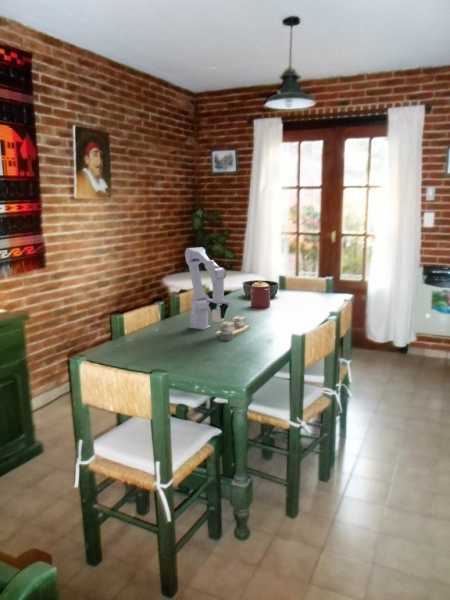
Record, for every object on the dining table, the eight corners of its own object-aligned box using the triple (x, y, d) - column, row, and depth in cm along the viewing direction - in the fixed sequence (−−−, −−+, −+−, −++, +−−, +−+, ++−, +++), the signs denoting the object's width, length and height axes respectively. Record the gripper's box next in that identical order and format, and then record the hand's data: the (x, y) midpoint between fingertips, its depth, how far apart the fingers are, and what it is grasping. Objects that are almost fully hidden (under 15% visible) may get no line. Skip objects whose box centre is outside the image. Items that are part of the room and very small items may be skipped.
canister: (270, 308, 316) (271, 281, 312) (250, 308, 316) (250, 281, 312) (269, 304, 328) (269, 278, 325) (250, 304, 329) (250, 278, 325)
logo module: (212, 321, 253) (212, 309, 252) (217, 319, 258) (217, 307, 256) (219, 322, 251) (219, 310, 250) (224, 320, 255) (224, 308, 254)
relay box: (219, 339, 248) (219, 333, 247) (224, 337, 251) (224, 331, 250) (228, 341, 245) (228, 334, 245) (232, 339, 249) (232, 332, 248)
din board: (215, 335, 256) (215, 323, 254) (234, 326, 273) (233, 315, 271) (232, 337, 251) (232, 325, 250) (250, 328, 268) (250, 317, 267)
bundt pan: (285, 295, 359) (285, 281, 357) (268, 301, 337) (268, 287, 335) (253, 292, 372) (253, 279, 370) (235, 298, 351) (235, 284, 349)
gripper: (202, 291, 252) (202, 317, 254) (226, 294, 244) (226, 320, 247) (209, 289, 258) (209, 314, 260) (233, 291, 250) (233, 317, 253)
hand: (218, 317), depth 254 cm, fingers closed on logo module, 4 cm apart
